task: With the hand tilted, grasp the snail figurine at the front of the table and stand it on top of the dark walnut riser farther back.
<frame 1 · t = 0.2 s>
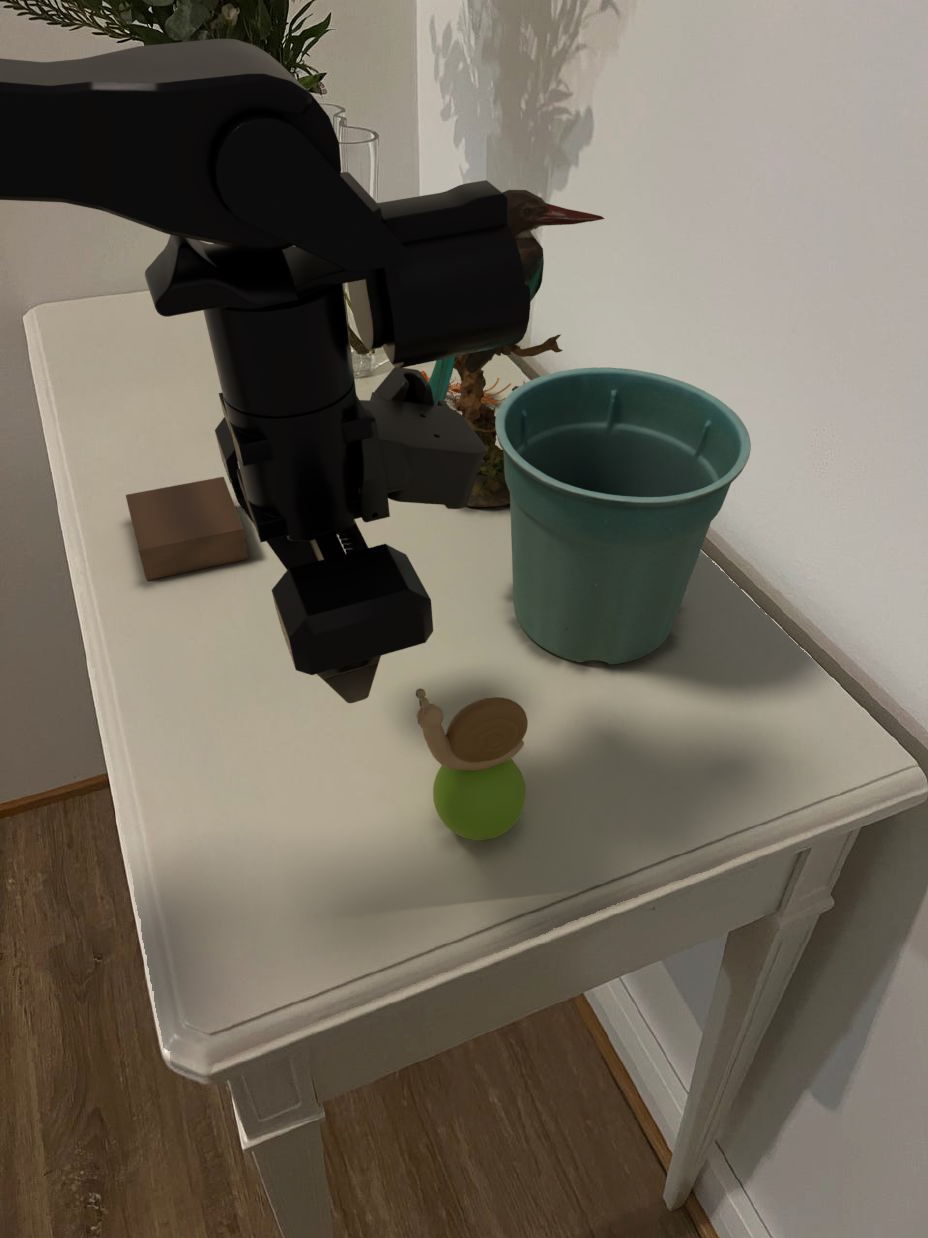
hand: (334, 641, 51), 12 cm above the table, tool pointing down, fingers open, 9 cm apart
flower pot: (592, 615, 71), on the table
sculpture: (494, 484, 84), on the table
riser: (189, 541, 77), on the table
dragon: (454, 403, 95), on the table
snail figurine: (469, 824, 57), on the table
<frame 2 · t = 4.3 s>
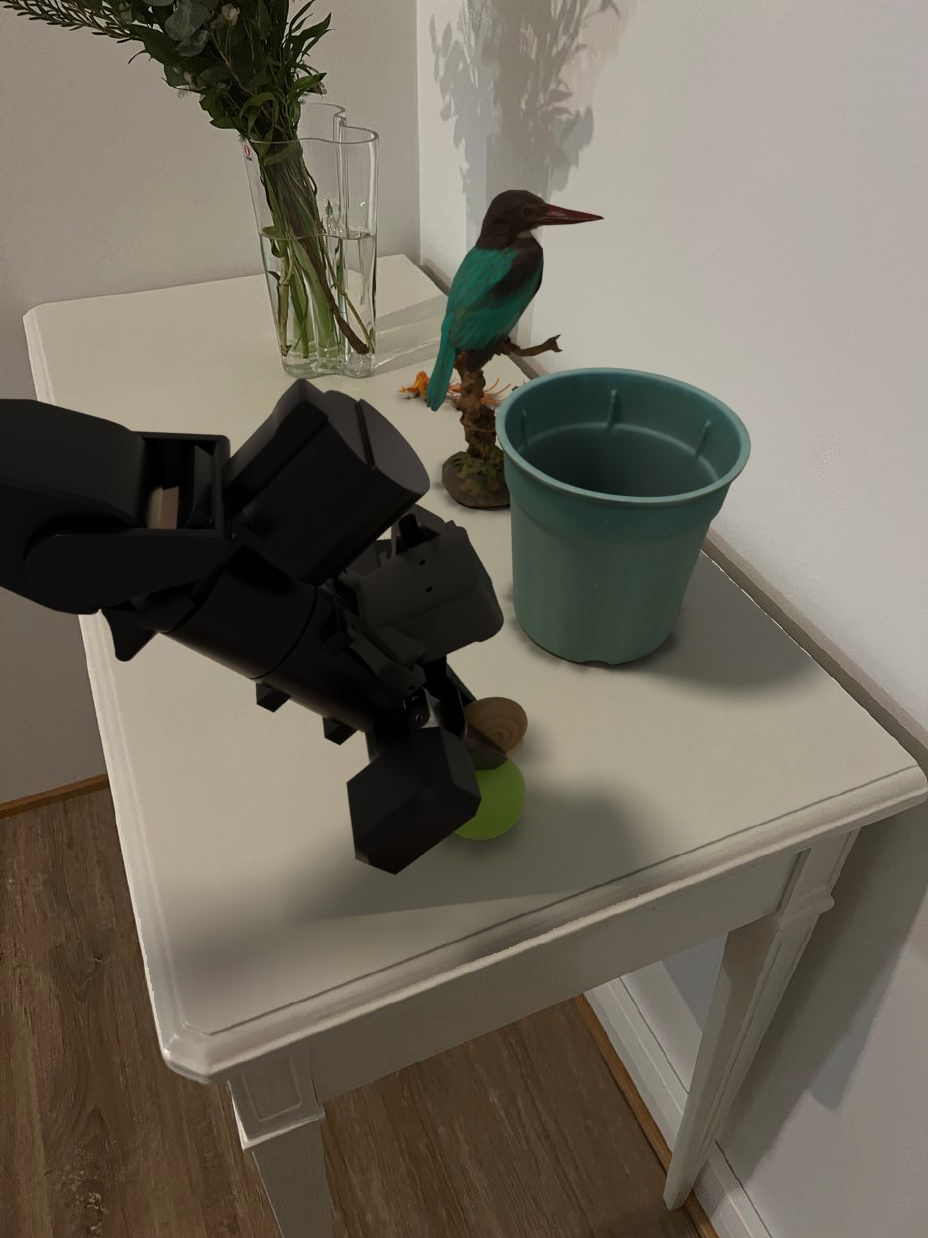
hand: (497, 748, 52), 7 cm above the table, tool tilted 45°, fingers closed on snail figurine
snail figurine: (469, 824, 57), on the table, touching gripper
everything else where it was.
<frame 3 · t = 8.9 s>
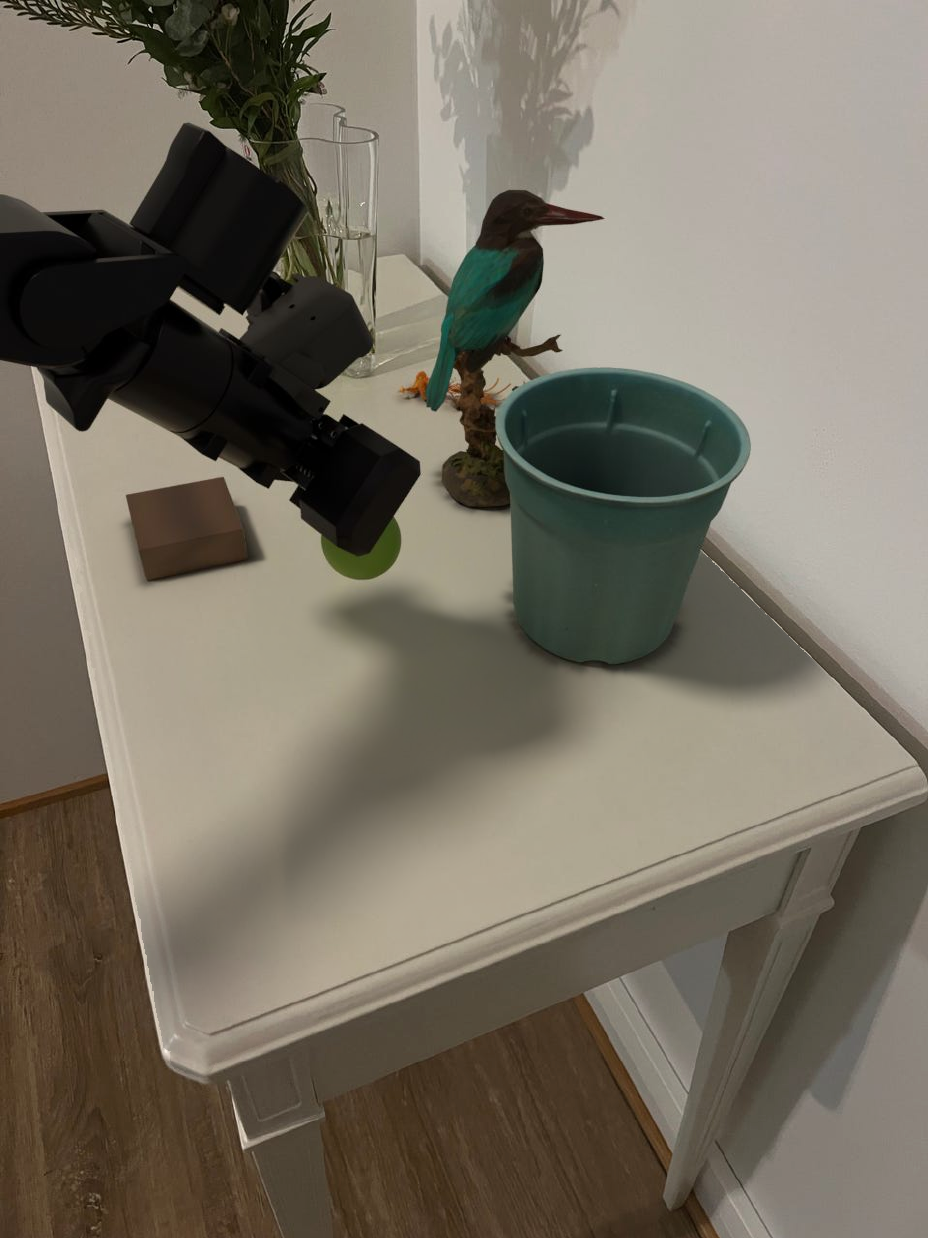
hand: (369, 487, 61), 12 cm above the table, tool tilted 45°, fingers closed on snail figurine
snail figurine: (358, 577, 65), point 5 cm above the table, touching gripper
everything else where it was.
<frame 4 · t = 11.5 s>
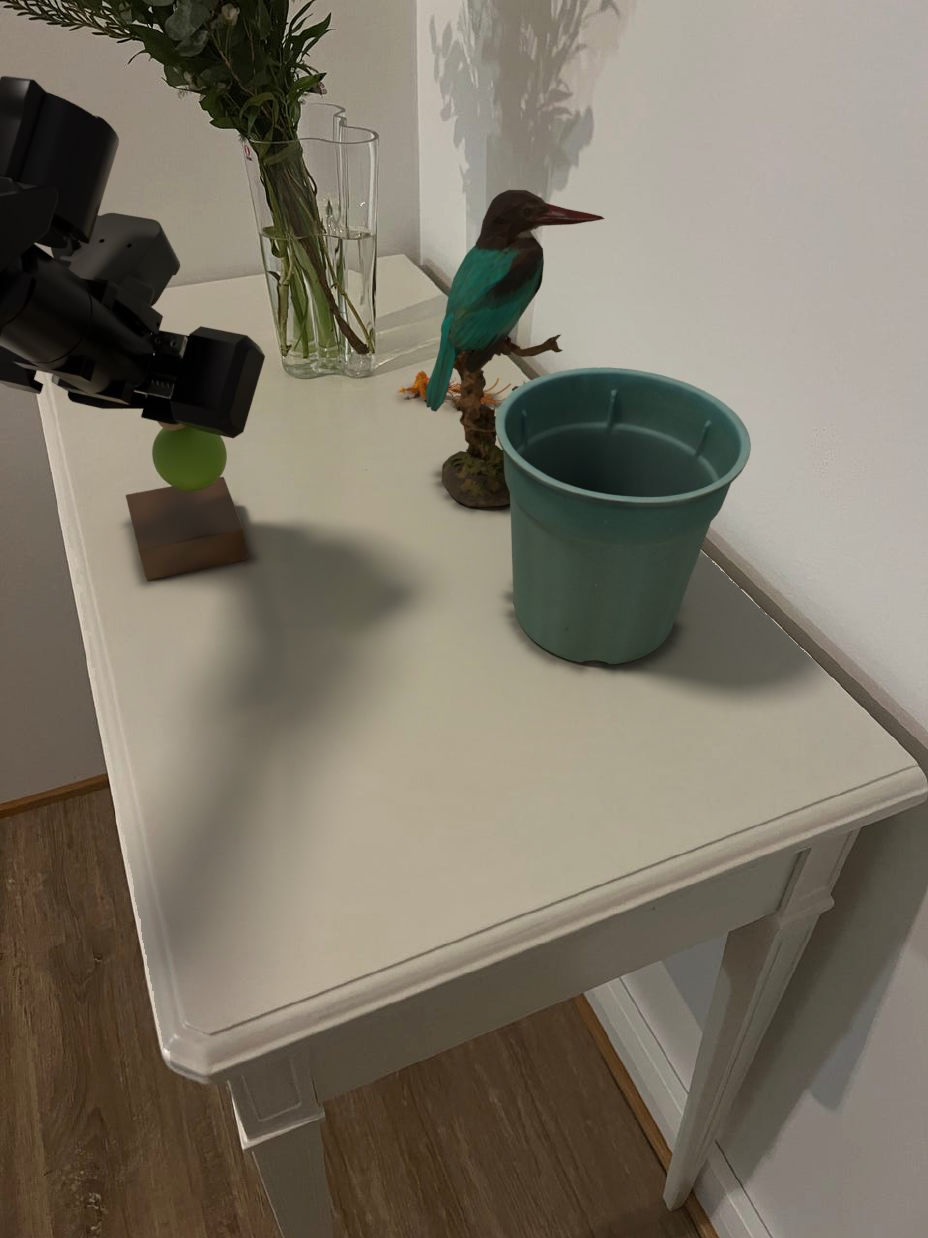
hand: (187, 403, 69), 12 cm above the table, tool tilted 45°, fingers closed on snail figurine
snail figurine: (194, 491, 72), point 5 cm above the table, touching gripper
everything else where it was.
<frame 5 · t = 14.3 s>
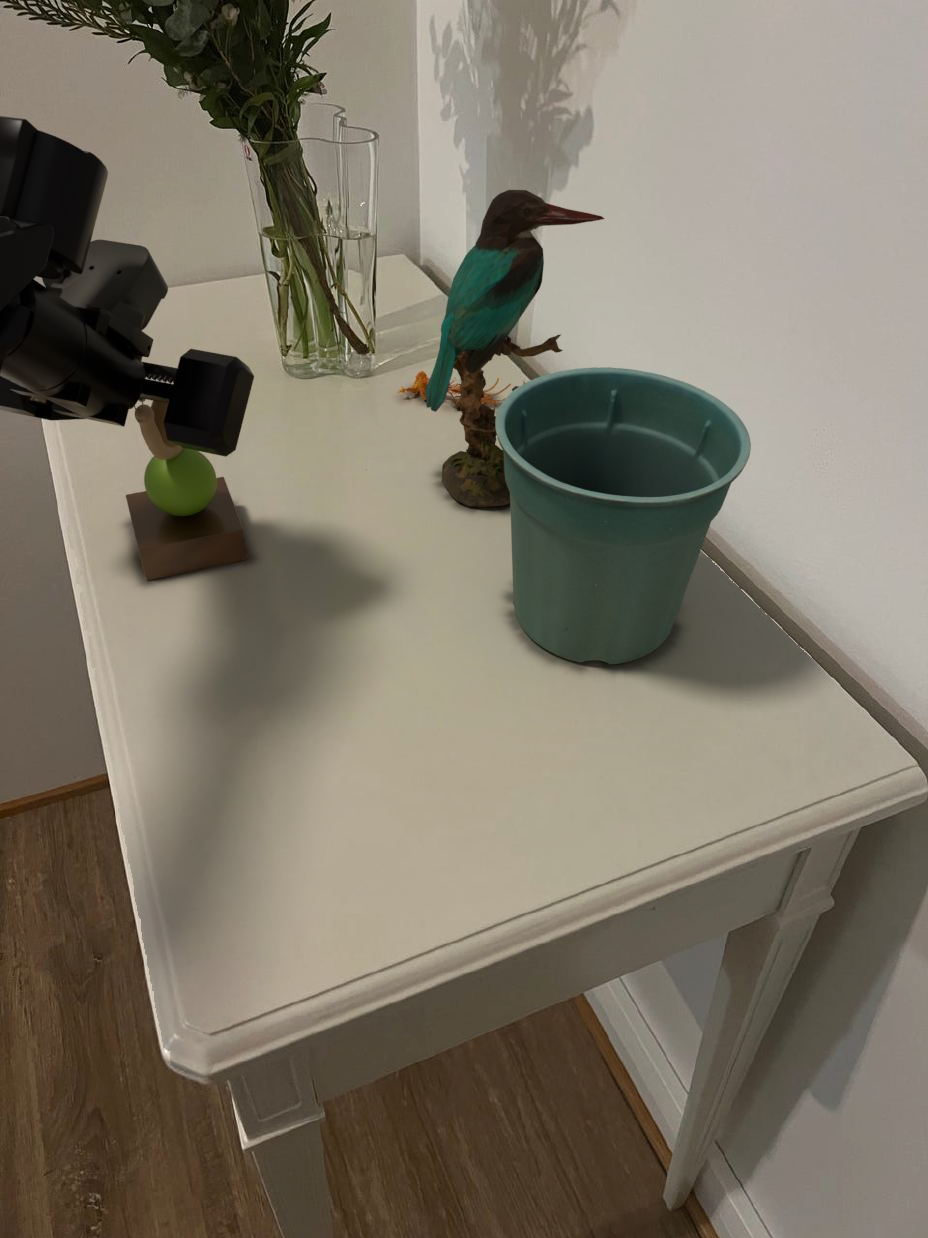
hand: (176, 420, 71), 10 cm above the table, tool tilted 45°, fingers open, 9 cm apart
snail figurine: (184, 515, 75), point 3 cm above the table, touching riser
everything else where it was.
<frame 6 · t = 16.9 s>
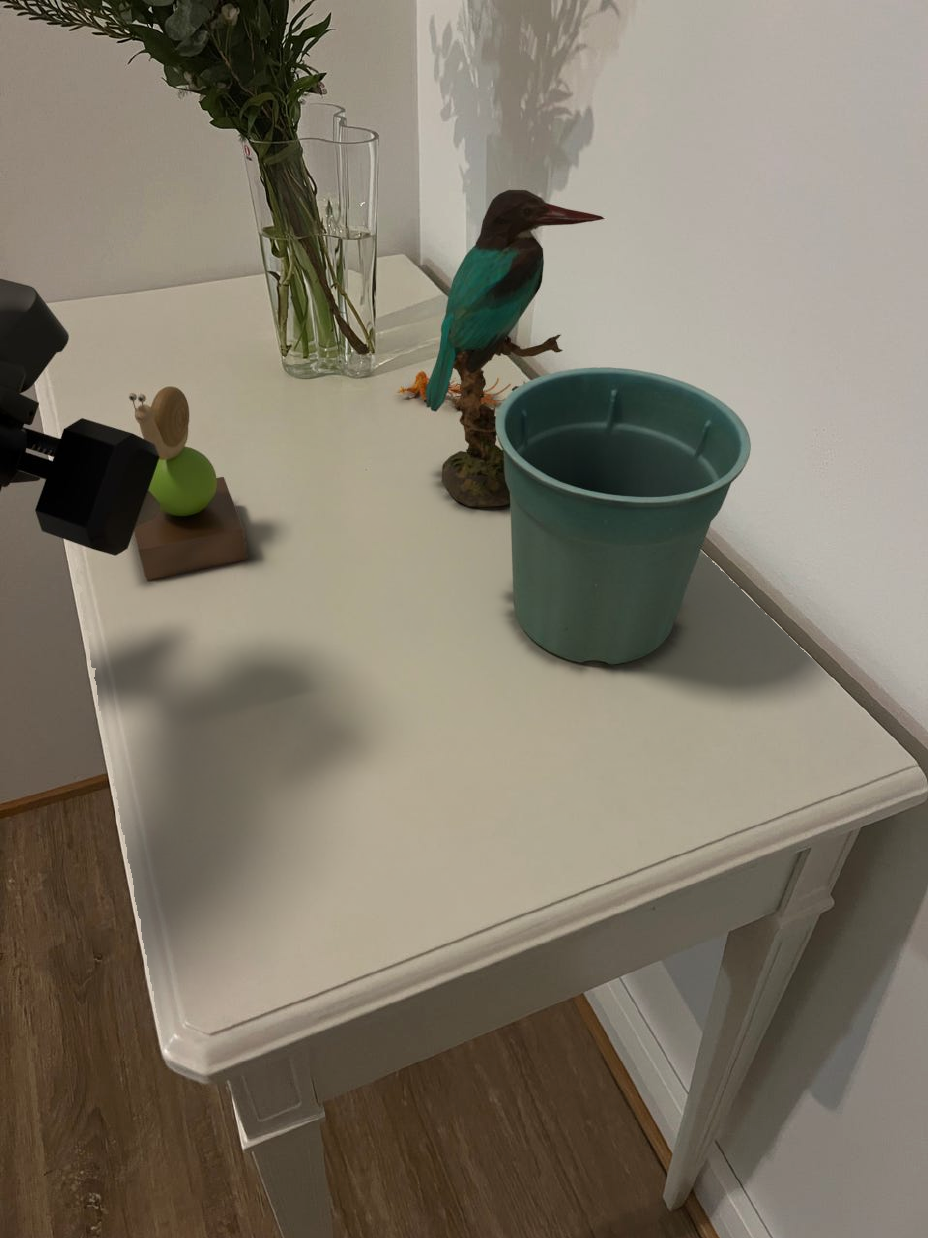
hand: (96, 491, 58), 13 cm above the table, tool tilted 45°, fingers open, 9 cm apart
nothing on the table moved.
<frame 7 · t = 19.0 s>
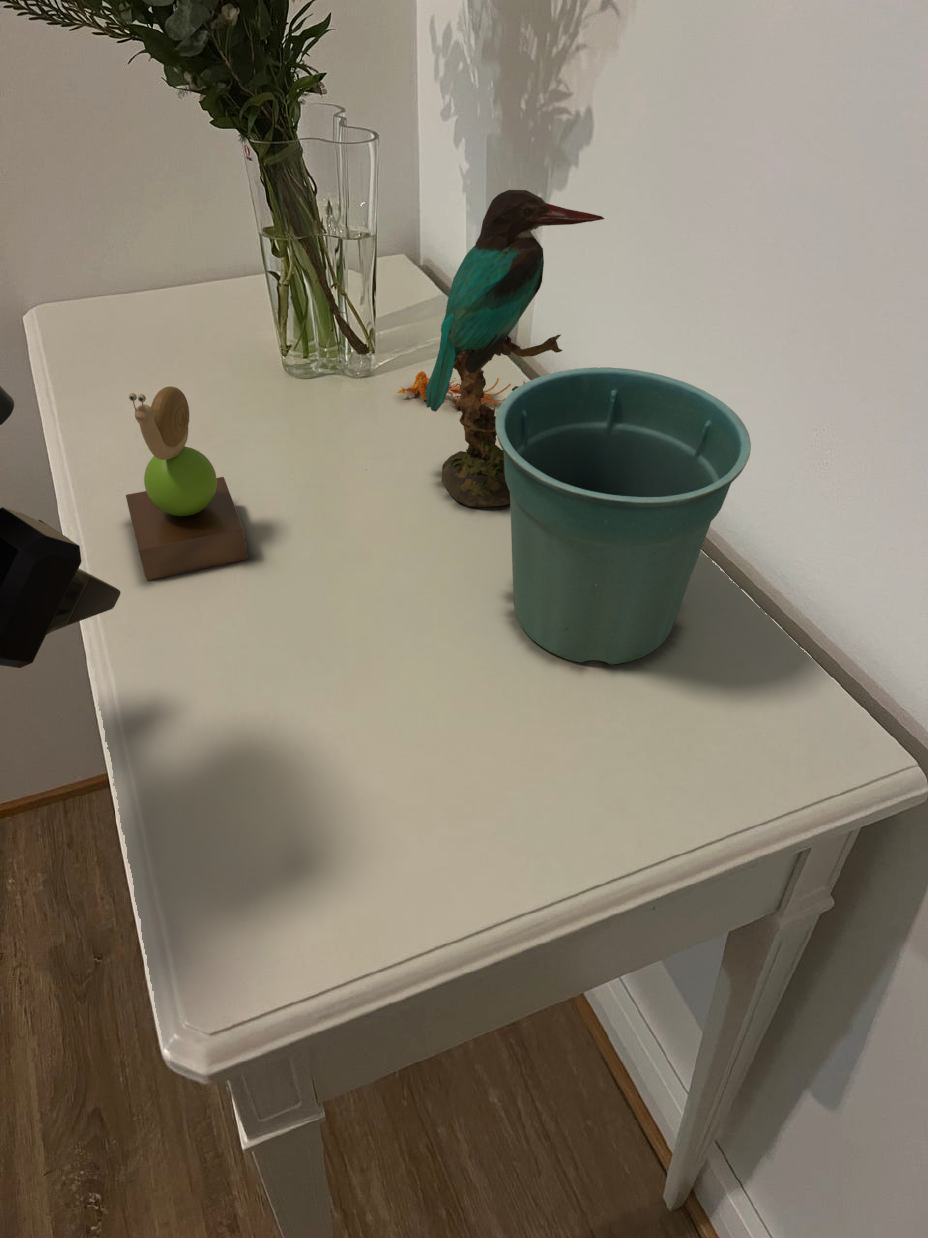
hand: (65, 564, 52), 14 cm above the table, tool tilted 45°, fingers open, 9 cm apart
nothing on the table moved.
at the end: snail figurine 0.3 cm off-centre on the riser, point 2.8 cm above the riser's base; snail figurine tilted 0° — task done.
